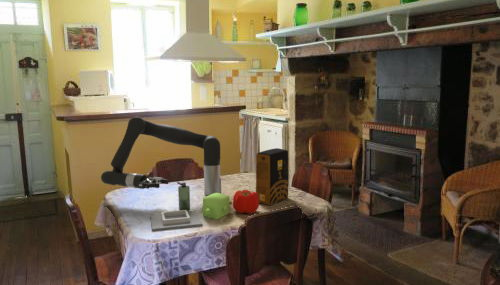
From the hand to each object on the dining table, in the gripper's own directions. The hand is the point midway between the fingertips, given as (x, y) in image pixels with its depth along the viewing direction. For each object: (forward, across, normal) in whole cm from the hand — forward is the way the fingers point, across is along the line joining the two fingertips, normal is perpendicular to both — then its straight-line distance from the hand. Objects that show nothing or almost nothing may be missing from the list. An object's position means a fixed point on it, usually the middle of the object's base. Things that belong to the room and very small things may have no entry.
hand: (163, 183), depth 206 cm
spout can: (+12, 0, +12) cm, 17 cm away
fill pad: (+15, -15, +13) cm, 25 cm away
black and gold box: (+49, +31, +12) cm, 59 cm away
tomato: (+42, +7, +12) cm, 44 cm away
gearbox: (+30, -2, +13) cm, 33 cm away
